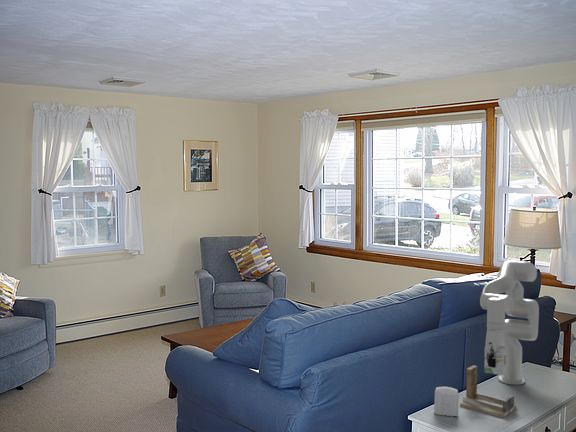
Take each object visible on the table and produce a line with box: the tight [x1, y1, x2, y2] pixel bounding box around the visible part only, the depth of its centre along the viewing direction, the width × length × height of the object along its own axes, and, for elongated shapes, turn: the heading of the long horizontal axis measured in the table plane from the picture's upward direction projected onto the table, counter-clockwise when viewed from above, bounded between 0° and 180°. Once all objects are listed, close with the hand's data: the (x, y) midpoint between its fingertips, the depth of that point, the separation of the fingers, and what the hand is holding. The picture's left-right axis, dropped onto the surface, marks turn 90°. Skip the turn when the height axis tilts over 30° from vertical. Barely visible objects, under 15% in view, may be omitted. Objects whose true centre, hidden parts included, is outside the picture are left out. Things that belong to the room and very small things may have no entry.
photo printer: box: [433, 386, 460, 417], centre depth 268 cm, size 10×4×12 cm, turn 72°
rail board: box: [459, 392, 517, 419], centre depth 276 cm, size 14×20×6 cm
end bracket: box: [465, 365, 478, 399], centre depth 281 cm, size 6×2×15 cm, turn 137°
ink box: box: [484, 347, 506, 376], centre depth 272 cm, size 9×5×12 cm, turn 61°
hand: (495, 364), depth 273 cm, fingers closed on ink box, 6 cm apart
